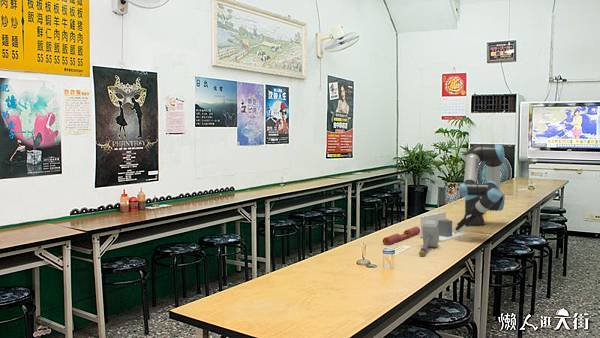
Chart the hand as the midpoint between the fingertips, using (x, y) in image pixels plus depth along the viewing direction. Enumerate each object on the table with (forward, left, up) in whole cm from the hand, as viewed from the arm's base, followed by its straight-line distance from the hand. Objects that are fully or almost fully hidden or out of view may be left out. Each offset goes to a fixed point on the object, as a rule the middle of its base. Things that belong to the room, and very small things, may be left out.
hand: (456, 231), depth 329 cm
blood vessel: (+33, -4, -5) cm, 34 cm away
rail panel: (+6, -7, -4) cm, 10 cm away
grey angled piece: (+26, +29, -5) cm, 40 cm away
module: (+5, -6, -4) cm, 9 cm away
